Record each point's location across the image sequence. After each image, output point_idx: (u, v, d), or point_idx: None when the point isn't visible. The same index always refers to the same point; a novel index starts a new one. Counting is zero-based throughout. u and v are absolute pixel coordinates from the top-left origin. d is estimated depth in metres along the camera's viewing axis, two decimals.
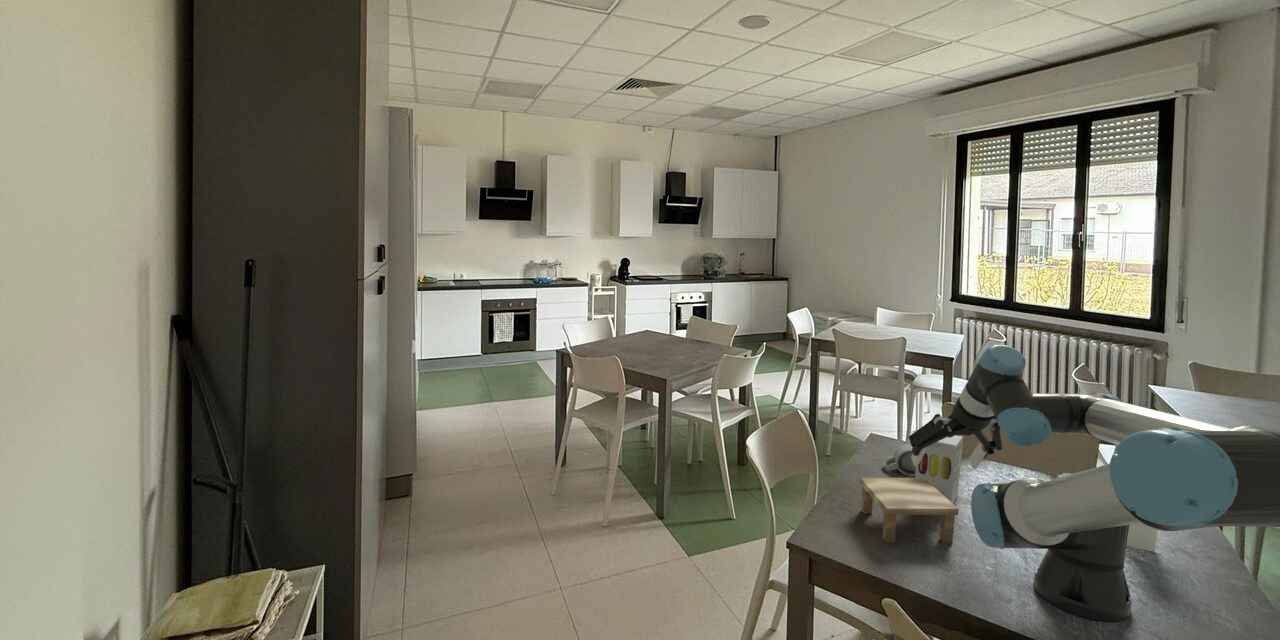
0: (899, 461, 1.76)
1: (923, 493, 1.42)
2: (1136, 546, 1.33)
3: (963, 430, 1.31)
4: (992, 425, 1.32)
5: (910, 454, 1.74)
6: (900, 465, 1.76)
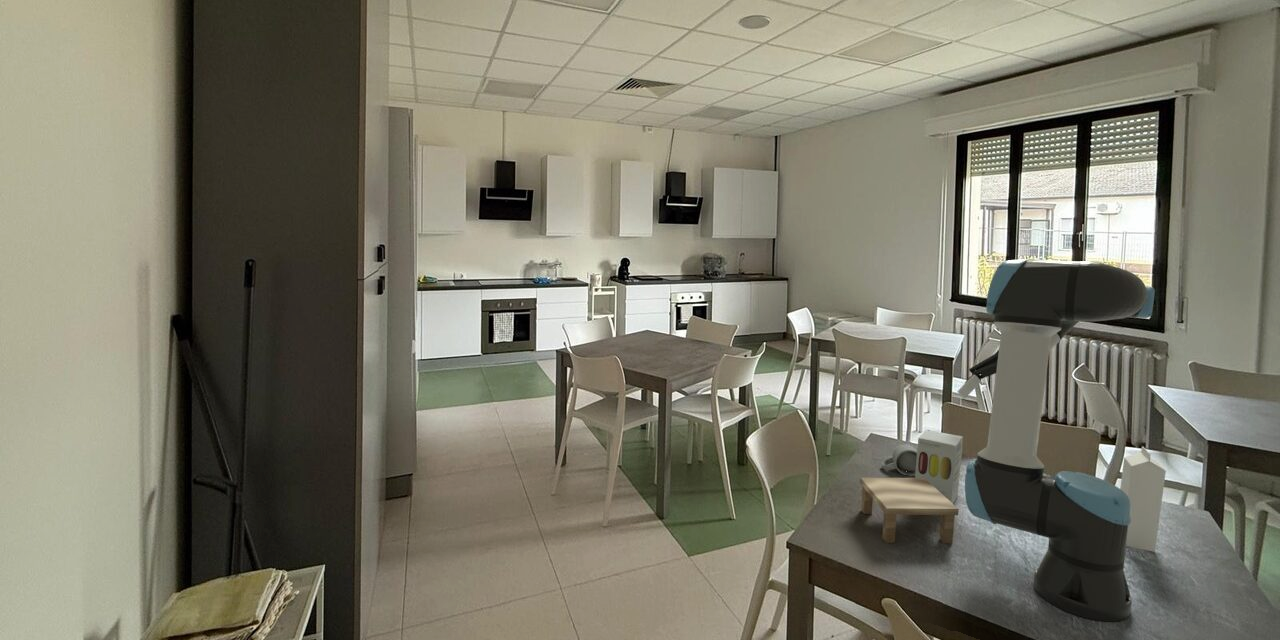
0: (898, 461, 1.76)
1: (923, 493, 1.42)
2: (1136, 546, 1.33)
3: None
4: None
5: (908, 454, 1.74)
6: (899, 465, 1.76)
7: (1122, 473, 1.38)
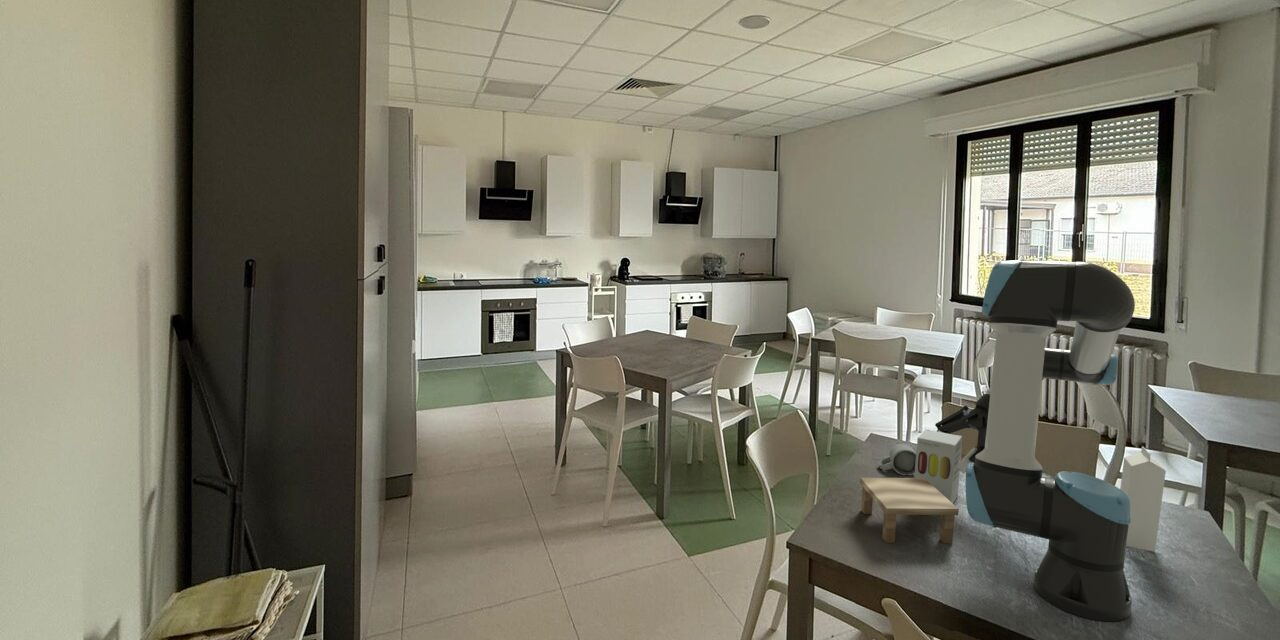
0: (894, 461, 1.76)
1: (923, 493, 1.42)
2: (1136, 546, 1.33)
3: (973, 413, 1.60)
4: None
5: (905, 454, 1.74)
6: (896, 464, 1.76)
7: (1122, 473, 1.38)
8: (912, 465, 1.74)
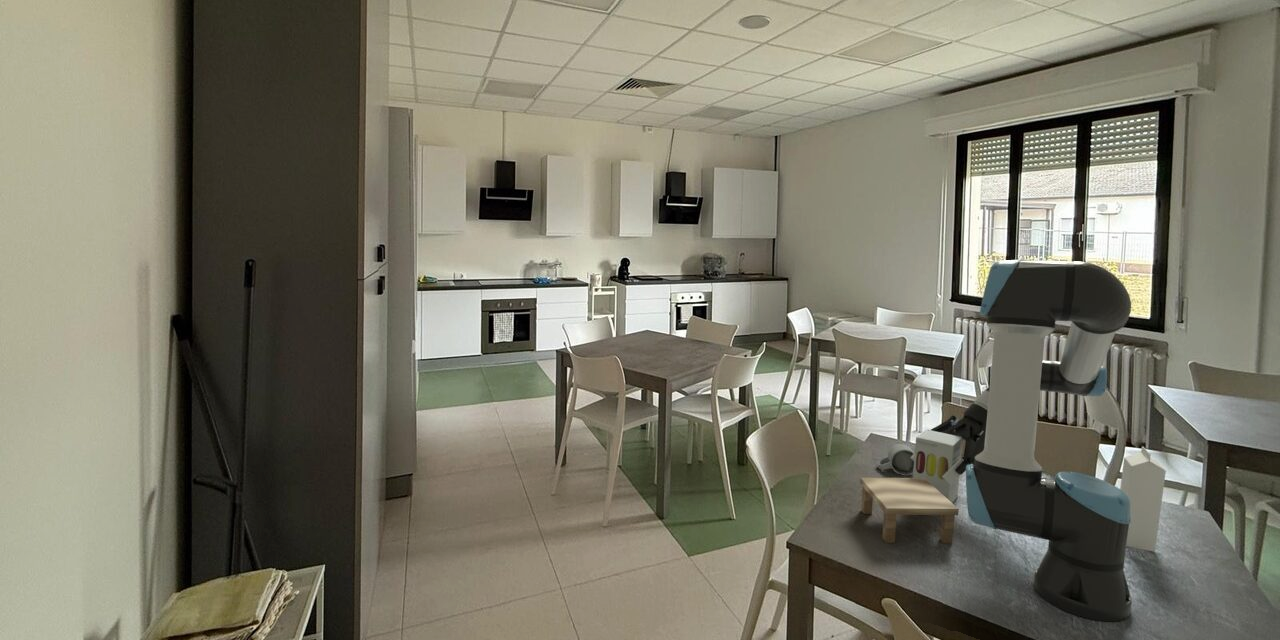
0: (893, 460, 1.76)
1: (923, 493, 1.42)
2: (1136, 546, 1.33)
3: (961, 423, 1.59)
4: None
5: (904, 453, 1.74)
6: (894, 464, 1.76)
7: (1122, 473, 1.38)
8: (911, 465, 1.75)
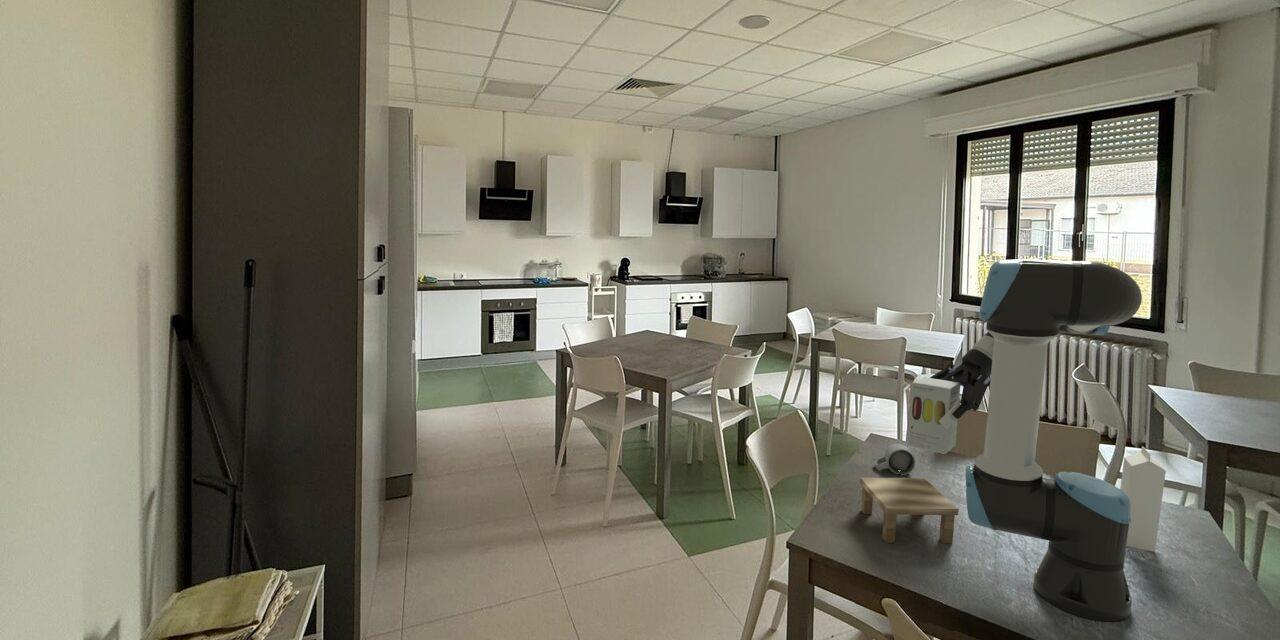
0: (890, 460, 1.76)
1: (923, 493, 1.42)
2: (1136, 546, 1.33)
3: (959, 369, 1.54)
4: None
5: (901, 453, 1.75)
6: (891, 464, 1.76)
7: (1122, 473, 1.38)
8: (907, 464, 1.75)
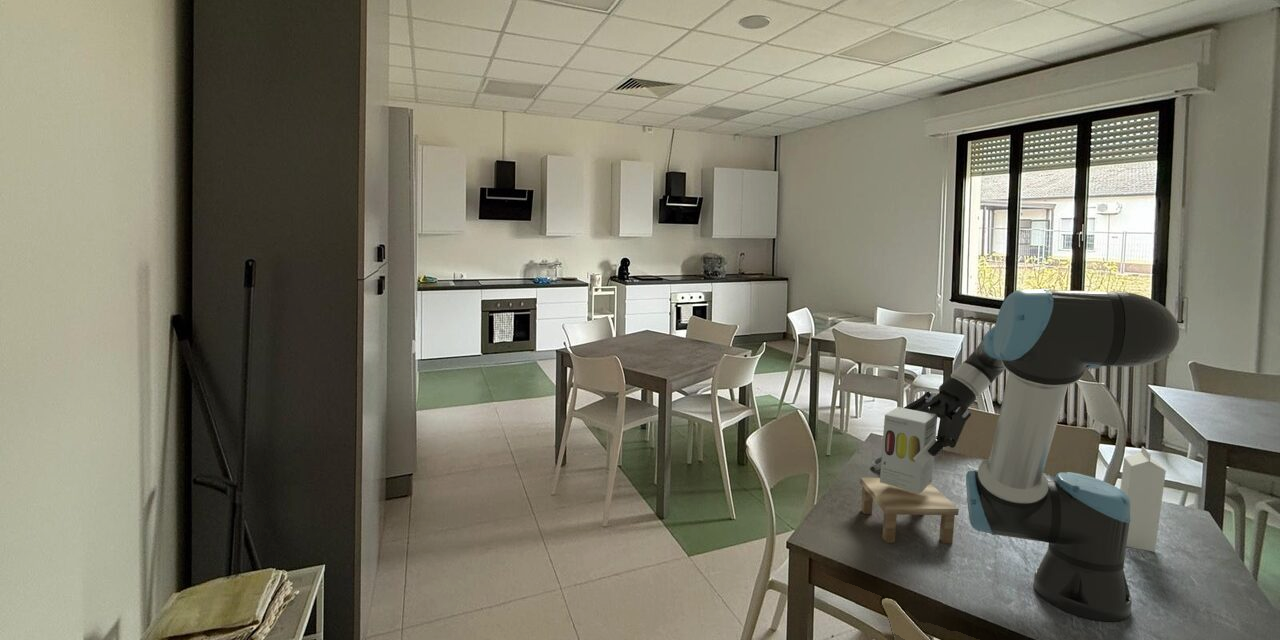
0: None
1: (923, 493, 1.42)
2: (1136, 546, 1.33)
3: (936, 399, 1.42)
4: None
5: None
6: None
7: (1122, 473, 1.38)
8: None
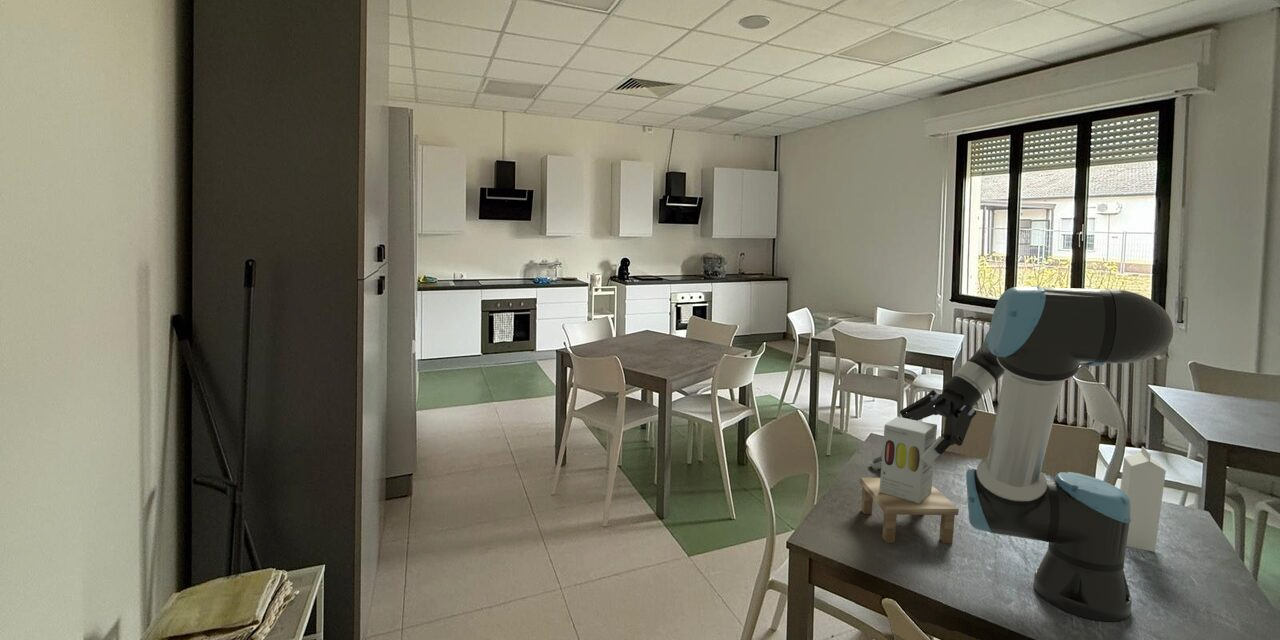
0: None
1: None
2: (1136, 546, 1.33)
3: (941, 398, 1.42)
4: None
5: None
6: None
7: (1122, 473, 1.38)
8: None
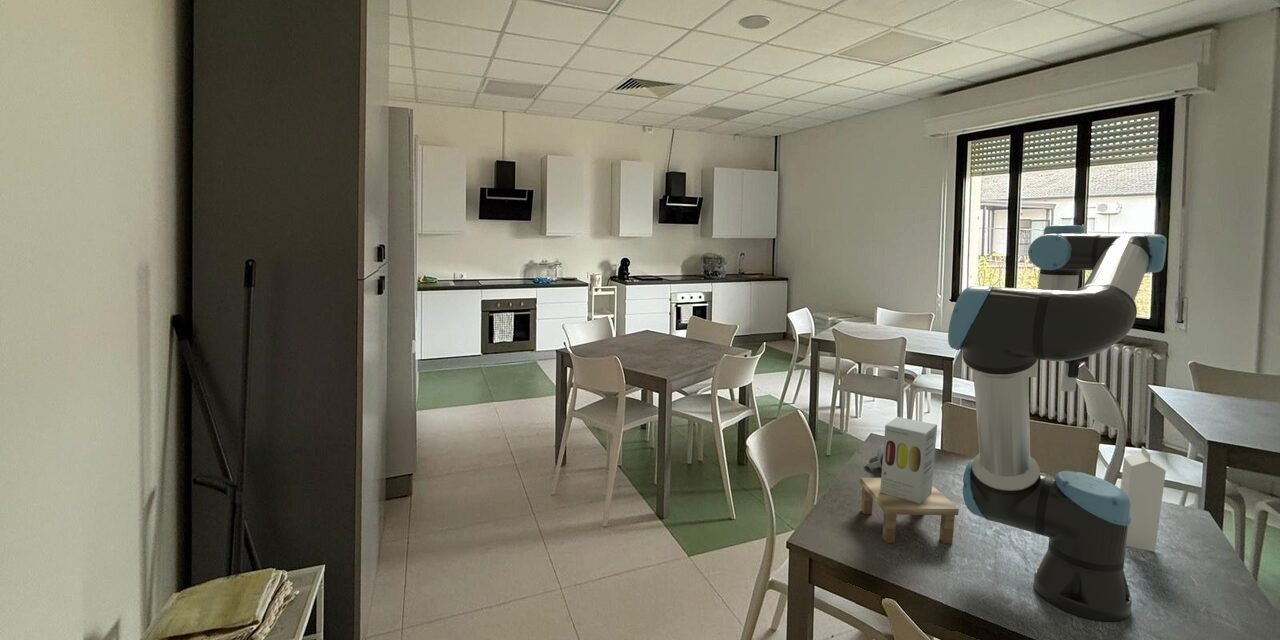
0: (882, 459, 1.77)
1: None
2: (1136, 546, 1.33)
3: None
4: None
5: None
6: None
7: (1122, 473, 1.38)
8: None
